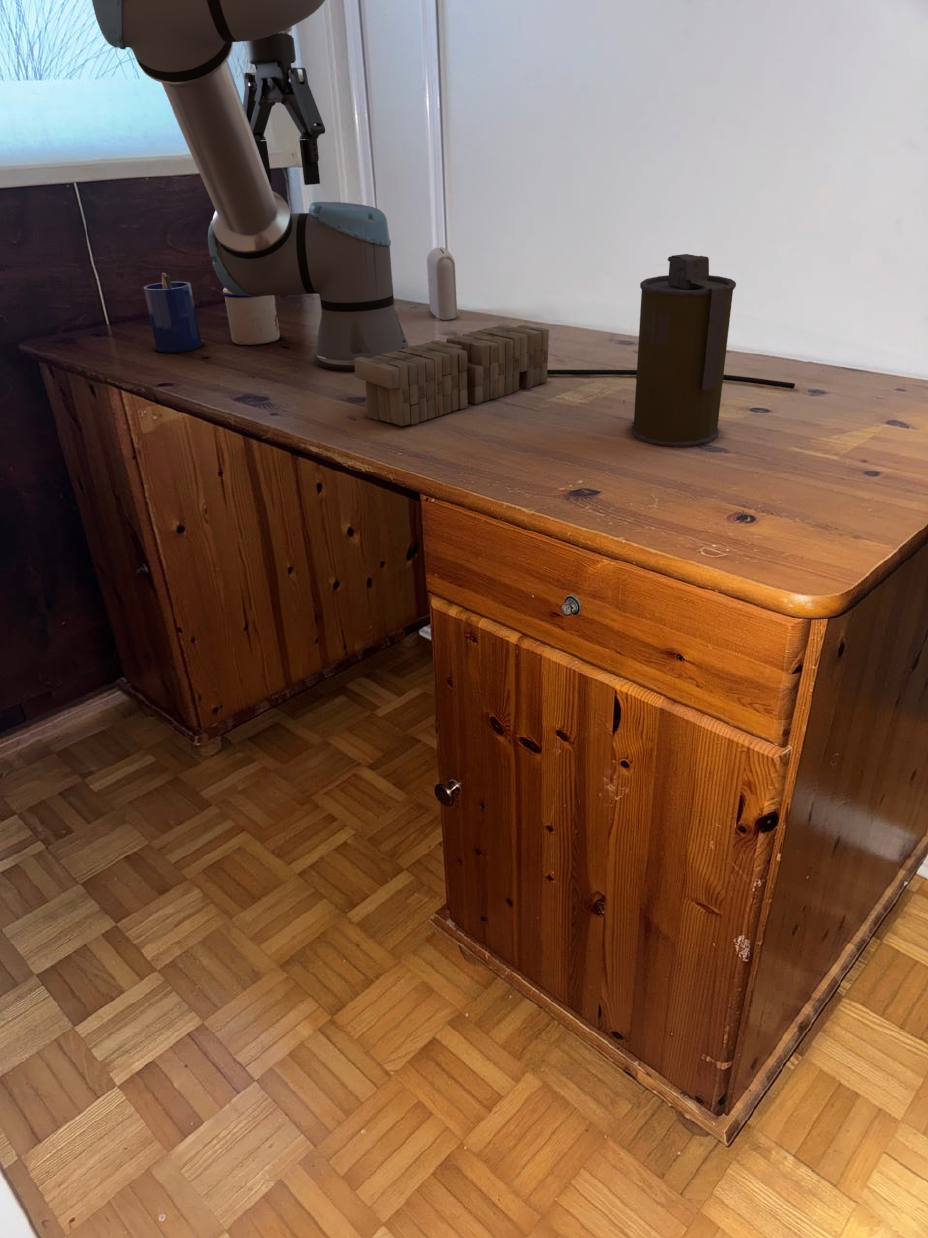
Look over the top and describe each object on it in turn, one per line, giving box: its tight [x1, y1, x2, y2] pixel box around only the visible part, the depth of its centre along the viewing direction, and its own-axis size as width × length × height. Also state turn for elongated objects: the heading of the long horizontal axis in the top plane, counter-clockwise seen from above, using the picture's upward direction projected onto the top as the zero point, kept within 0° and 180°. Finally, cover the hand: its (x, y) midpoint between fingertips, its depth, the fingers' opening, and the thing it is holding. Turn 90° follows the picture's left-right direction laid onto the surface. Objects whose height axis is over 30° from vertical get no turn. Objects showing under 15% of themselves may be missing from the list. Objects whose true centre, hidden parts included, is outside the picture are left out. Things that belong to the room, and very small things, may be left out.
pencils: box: [161, 272, 172, 289], centre depth 153 cm, size 2×3×12 cm
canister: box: [630, 253, 737, 448], centre depth 101 cm, size 11×10×20 cm
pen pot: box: [143, 281, 202, 354], centre depth 153 cm, size 8×8×10 cm
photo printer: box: [426, 246, 458, 321], centre depth 168 cm, size 10×4×12 cm, turn 13°
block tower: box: [354, 323, 550, 427], centre depth 119 cm, size 8×8×29 cm
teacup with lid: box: [222, 287, 281, 346], centre depth 157 cm, size 12×9×12 cm
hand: (287, 183), depth 148 cm, fingers open, 13 cm apart
